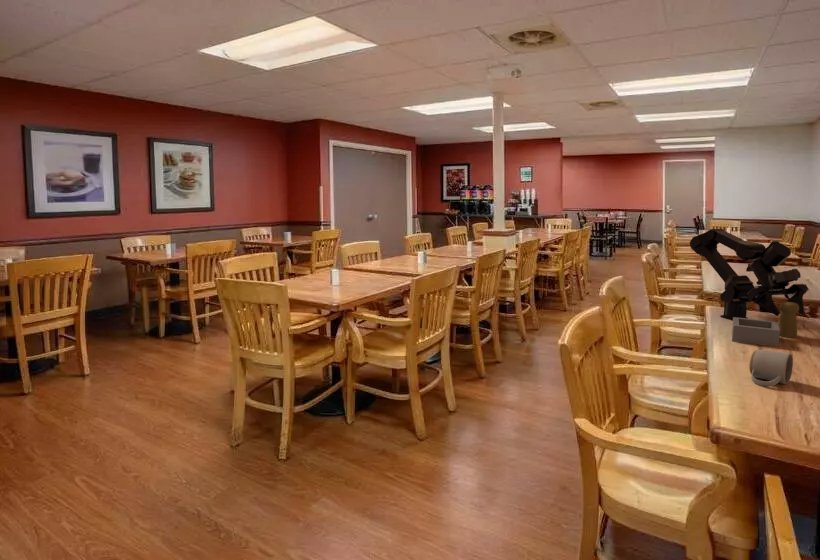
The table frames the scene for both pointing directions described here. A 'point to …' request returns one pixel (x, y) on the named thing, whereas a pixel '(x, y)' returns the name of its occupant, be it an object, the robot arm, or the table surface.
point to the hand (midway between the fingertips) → (790, 314)
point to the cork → (788, 319)
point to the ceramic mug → (771, 367)
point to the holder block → (755, 331)
